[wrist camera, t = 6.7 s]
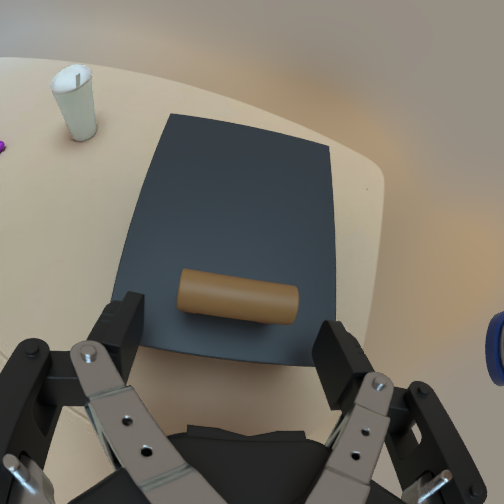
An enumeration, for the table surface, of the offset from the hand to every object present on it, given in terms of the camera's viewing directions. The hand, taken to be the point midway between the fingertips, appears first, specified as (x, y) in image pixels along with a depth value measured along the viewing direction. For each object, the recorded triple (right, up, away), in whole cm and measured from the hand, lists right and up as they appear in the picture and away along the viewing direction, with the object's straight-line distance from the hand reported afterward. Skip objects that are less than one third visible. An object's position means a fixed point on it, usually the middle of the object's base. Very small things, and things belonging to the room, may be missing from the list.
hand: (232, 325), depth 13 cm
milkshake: (-19, +17, +16) cm, 30 cm away
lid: (0, +5, +6) cm, 8 cm away
